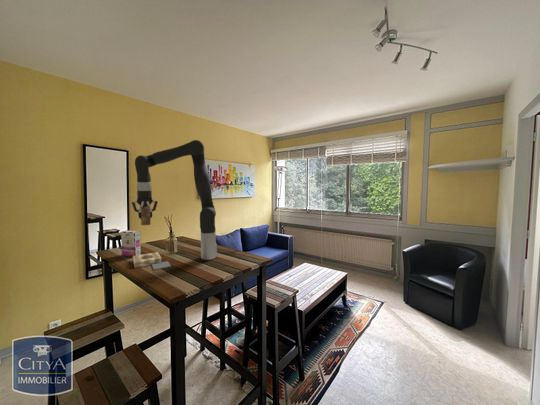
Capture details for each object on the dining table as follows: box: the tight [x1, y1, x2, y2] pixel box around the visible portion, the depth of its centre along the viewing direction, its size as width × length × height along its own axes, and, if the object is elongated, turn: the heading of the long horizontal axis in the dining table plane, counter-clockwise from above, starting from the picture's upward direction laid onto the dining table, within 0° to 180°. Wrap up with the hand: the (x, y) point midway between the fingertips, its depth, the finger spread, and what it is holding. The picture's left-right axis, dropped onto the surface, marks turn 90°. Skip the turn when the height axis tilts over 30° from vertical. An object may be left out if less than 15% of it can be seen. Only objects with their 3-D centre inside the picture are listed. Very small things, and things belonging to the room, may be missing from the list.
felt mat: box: [151, 261, 172, 271], centre depth 130 cm, size 9×9×1 cm
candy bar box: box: [120, 229, 142, 258], centre depth 147 cm, size 11×5×16 cm, turn 76°
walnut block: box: [140, 205, 151, 226], centre depth 134 cm, size 4×4×11 cm
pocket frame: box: [132, 251, 163, 269], centre depth 137 cm, size 14×14×3 cm
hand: (145, 218), depth 134 cm, fingers closed on walnut block, 4 cm apart
